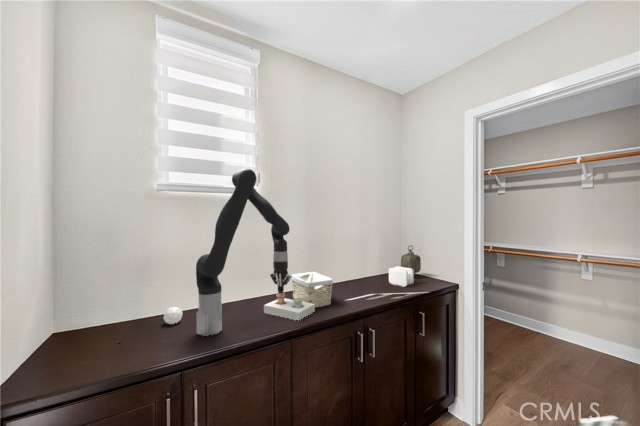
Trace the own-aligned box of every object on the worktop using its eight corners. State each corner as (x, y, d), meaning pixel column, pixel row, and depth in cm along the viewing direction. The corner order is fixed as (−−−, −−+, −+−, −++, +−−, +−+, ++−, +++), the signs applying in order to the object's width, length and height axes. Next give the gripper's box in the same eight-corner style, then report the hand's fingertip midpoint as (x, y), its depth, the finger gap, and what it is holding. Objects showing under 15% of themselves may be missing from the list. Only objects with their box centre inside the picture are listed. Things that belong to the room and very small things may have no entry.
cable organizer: (387, 283, 191) (387, 267, 191) (395, 281, 198) (395, 265, 199) (406, 287, 180) (406, 270, 180) (414, 285, 187) (414, 268, 187)
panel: (298, 321, 126) (298, 312, 126) (264, 312, 137) (263, 305, 137) (314, 311, 138) (314, 304, 138) (281, 304, 149) (281, 297, 149)
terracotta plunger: (281, 309, 137) (281, 295, 137) (274, 307, 140) (274, 294, 140) (287, 306, 141) (287, 293, 141) (280, 305, 144) (280, 292, 144)
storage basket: (290, 298, 161) (290, 273, 161) (314, 294, 168) (314, 270, 168) (307, 310, 140) (307, 282, 140) (334, 305, 147) (333, 278, 147)
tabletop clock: (411, 275, 217) (410, 244, 217) (421, 277, 210) (421, 245, 210) (401, 278, 208) (400, 245, 208) (411, 280, 201) (411, 246, 201)
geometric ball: (169, 331, 123) (156, 320, 120) (174, 318, 130) (163, 308, 127) (183, 323, 123) (171, 311, 120) (188, 311, 130) (176, 300, 127)
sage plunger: (299, 315, 132) (299, 301, 132) (291, 313, 134) (291, 300, 134) (304, 312, 136) (304, 298, 136) (297, 311, 138) (296, 297, 138)
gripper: (266, 259, 141) (266, 292, 141) (286, 261, 134) (286, 296, 134) (275, 257, 147) (275, 289, 147) (295, 259, 140) (295, 292, 140)
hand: (280, 292), depth 140 cm, fingers closed
